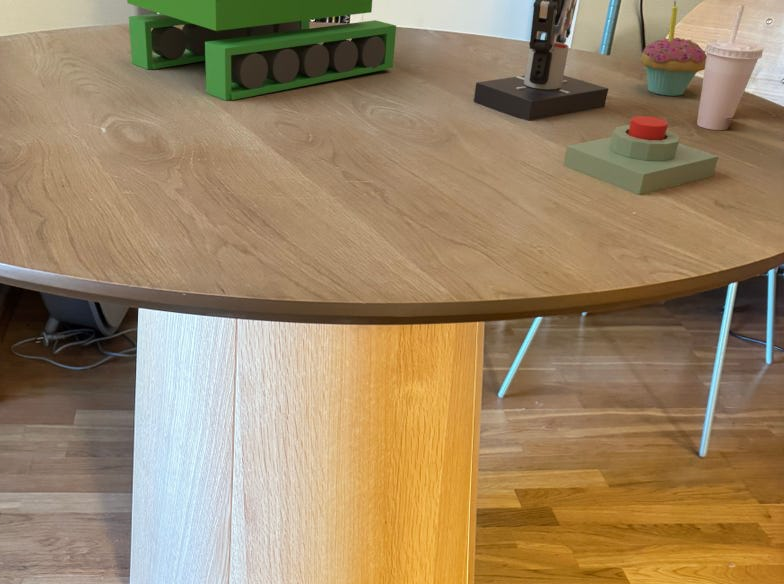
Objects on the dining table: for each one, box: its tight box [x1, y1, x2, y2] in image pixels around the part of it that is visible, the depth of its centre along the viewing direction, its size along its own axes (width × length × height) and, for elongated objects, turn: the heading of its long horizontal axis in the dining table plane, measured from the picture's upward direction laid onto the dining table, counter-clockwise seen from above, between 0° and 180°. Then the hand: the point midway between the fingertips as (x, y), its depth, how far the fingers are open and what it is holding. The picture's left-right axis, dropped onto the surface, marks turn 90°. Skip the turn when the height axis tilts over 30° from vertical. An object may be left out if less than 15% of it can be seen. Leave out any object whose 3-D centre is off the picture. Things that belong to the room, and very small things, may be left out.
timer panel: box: [473, 74, 609, 122], centre depth 114 cm, size 14×10×3 cm
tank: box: [126, 0, 397, 101], centre depth 124 cm, size 24×35×16 cm
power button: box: [628, 115, 669, 140], centre depth 91 cm, size 4×4×2 cm
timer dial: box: [524, 42, 569, 90], centre depth 112 cm, size 5×5×5 cm
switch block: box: [563, 124, 719, 196], centre depth 92 cm, size 12×10×4 cm
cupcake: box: [640, 0, 707, 97], centre depth 120 cm, size 9×8×12 cm
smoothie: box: [696, 4, 765, 131], centre depth 106 cm, size 6×6×14 cm
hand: (543, 78), depth 113 cm, fingers closed on timer dial, 5 cm apart
